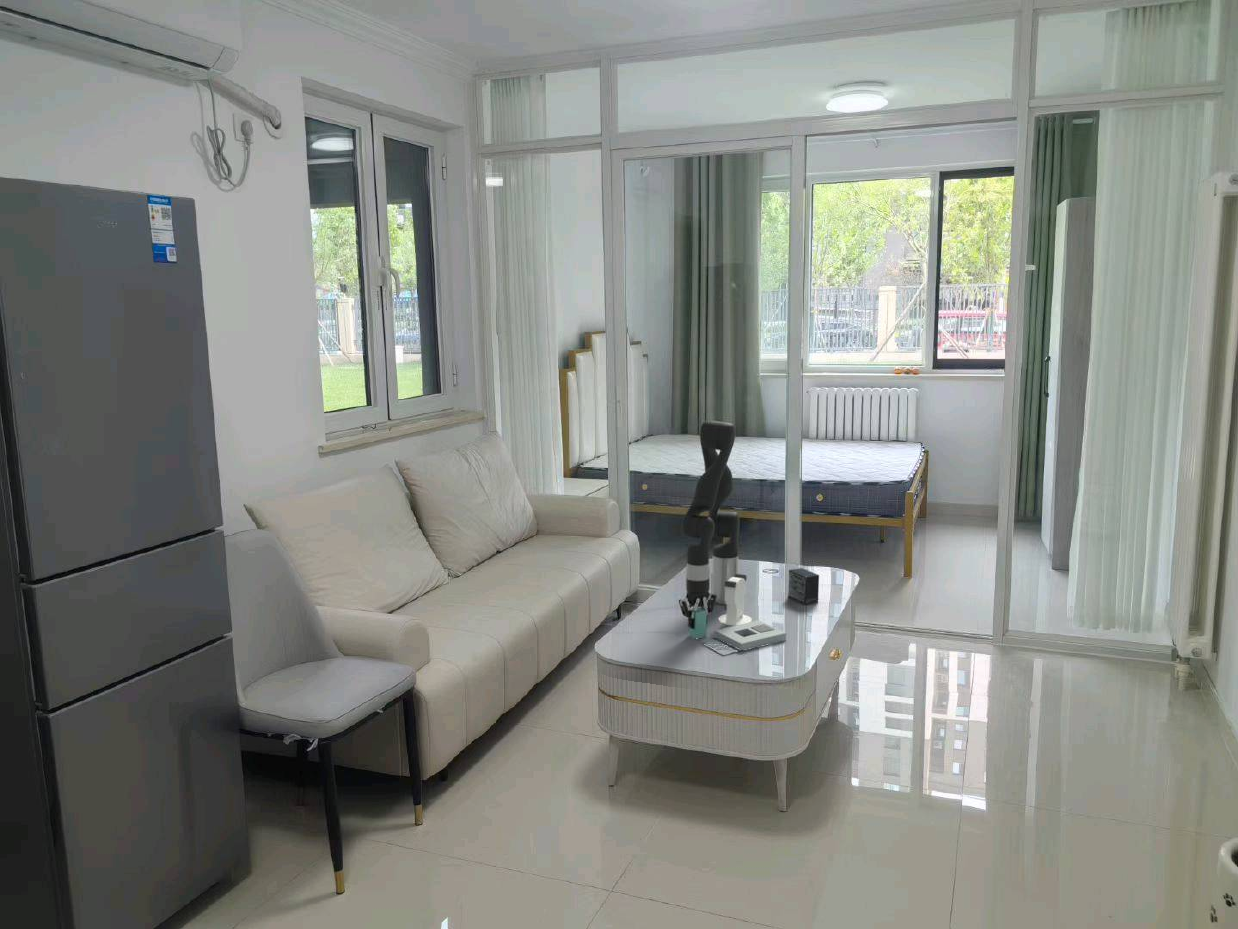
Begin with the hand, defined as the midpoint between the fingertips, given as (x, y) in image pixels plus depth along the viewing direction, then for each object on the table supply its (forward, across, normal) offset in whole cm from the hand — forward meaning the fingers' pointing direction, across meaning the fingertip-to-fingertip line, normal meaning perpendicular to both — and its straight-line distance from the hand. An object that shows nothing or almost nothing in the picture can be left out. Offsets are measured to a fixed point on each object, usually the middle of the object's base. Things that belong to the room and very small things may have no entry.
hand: (697, 626), depth 304 cm
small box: (+4, -54, -10) cm, 55 cm away
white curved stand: (+4, -20, -6) cm, 21 cm away
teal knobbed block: (+3, 0, 0) cm, 3 cm away
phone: (+4, 0, +12) cm, 13 cm away
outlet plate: (+3, -13, +11) cm, 17 cm away
